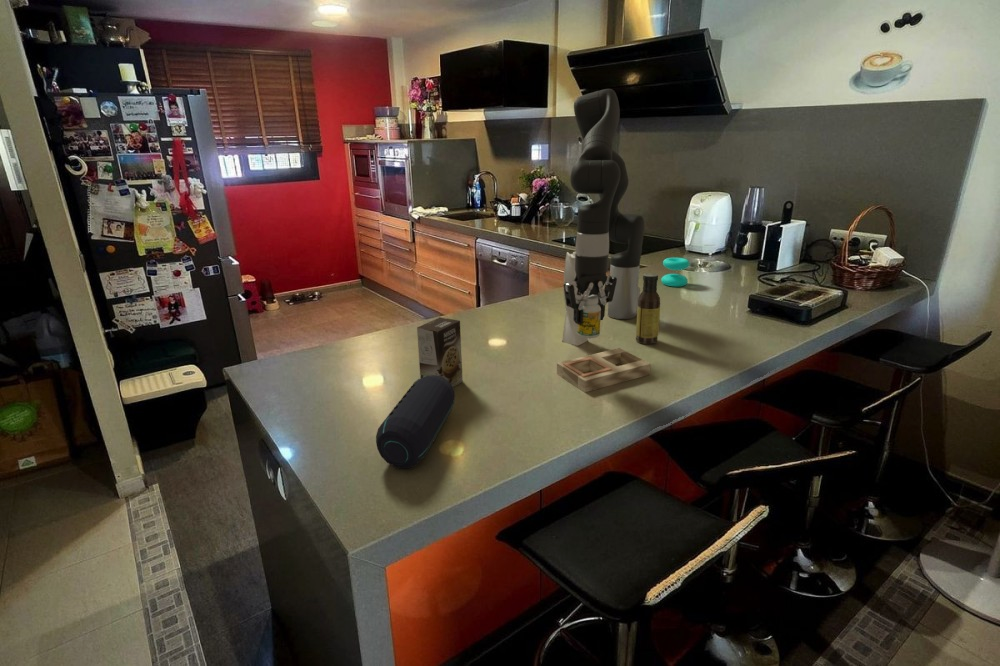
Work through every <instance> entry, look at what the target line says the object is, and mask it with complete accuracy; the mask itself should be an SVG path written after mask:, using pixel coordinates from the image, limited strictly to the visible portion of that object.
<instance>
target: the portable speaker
mask: <svg viewBox="0 0 1000 666" xmlns="http://www.w3.org/2000/svg"><path fill="white" fill-rule="evenodd" d="M455 399H456V392H455V388H454V387H452V385H451V383H450V382H449V381H447V380H446V379H445V378H444V377H440V376H437V375H430V376H425V377H423V378H421V379H420V378H418V379H417V380H415V381H414V382H413V384H411V386H410V387H409V389H407V391H406V392H405V393H404V395H403V396H402V397H401V399H400V400H399V401H398V403H397V404H396V405H395V406H394V407H393V408H392V410H391V411H390V413H388V415H387V417H385V419H384V420H383V421H382V423H381V424H380V426H379V427H378V429H377V431H376V434H375V445H376V447H377V451H378V453H379V455H380V456H381V458H382V459H383V460H384V461H385V462H386V463H387V464H389V465H390V466H392V467H394V468H398V469H401V470H405V469H411V468H413V467H415V466H417V465H418V464H419V463H420V462H421V461H422V460H423V459H424V457H425V456H426V455H427V453H428V451H429V450H430V448H431V446H432V445H433V443H434V441H435V440H436V438H437V436H438V434H439V433H440V432H441V429H442V428H443V425H444V424H445V422H446V420H447V419H448V417H449V416H450V414H451V413H452V410H453V407H454V404H455Z"/></svg>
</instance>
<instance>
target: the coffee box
mask: <svg viewBox="0 0 1000 666" xmlns="http://www.w3.org/2000/svg"><path fill="white" fill-rule="evenodd" d="M416 330H417V332H416V333H417V349H418V350H417V351H418V361H419V362H418V363H419V379H421V378H423V377H425V376H430V375H437V376H440V377H444V378H445V379H446V380H447V381H449V382H450V383H451V385H452V387H453V388H454V387H455V386H458V385H460V384H461V383H463V382H464V381H463V361H462V360H463V359H462V356H463V355H462V338H461V337H462V336H461V321H460V320H458V319H452V318H447V317H446V318H445V317H437V318H436V319H432V320H431V321H428V322H427V323H424V324H422V325H419V326H417V327H416Z"/></svg>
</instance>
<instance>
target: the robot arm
mask: <svg viewBox="0 0 1000 666" xmlns="http://www.w3.org/2000/svg"><path fill="white" fill-rule="evenodd" d="M618 98H619V97H618V96H617V93H616V91H615V90H613V89H612V88H605V89H601V90H596V91H592V92H589V93H585V94H583V95H581V96H578V97H577V98H576V99H574V103H573V112H574V118H575V121H576V123H577V127H578V129H579V133H580V135H581V138H582V144H581V154H580V155H579V157H578V158H577V159H576V161H575V162H574V164H573V166H572V169H571V171H570V180H569V181H570V186H571V188H572V189H573V191H575V192H576V193H577V194H583V195H588V194H589V195H590V194H592V195H599V198H600V199H599V200H598V201H596V202H593V203H589V204H584V205H581V206H580V207H578V211H577V227H576V239H575V251H574V252H575V272H576V277H575V279H574V281H573V282H570V283H567V282H565V283H564V285H562V286H564V289H563V294H564V293H565V299H566V305H567V306H568V307H571V308H573V309H574V317H573V319H574V321H575V323H576V324H578V325H581V324H583V310H582V308H583V306H584V303H585V301H587V299H588V296H591V295H595V296H598V303H597V304H598V305H599V306H600V307H601V318H600V321H603V320H604V317H605V313H606V305H607V316H608V317H610V318H612V319H613V318H614V319H617V320H628V319H629V320H630V319H635V318H636V317H637V308H638V298H639V296H640V294H641V287H640V286H639V279H640V267H641V258H642V252H643V251H642V250H643V243H644V235H645V219H644V217H643V216H642V215H641V214H632V213H621V212H620V210H619V207H618V206H619V204H620V201H621V200H622V199H623V196H624V195H625V194H626V191H627V190H628V187H629V176H628V171H627V167H626V163H625V161H624V159H623V158H622V156H620V154H618V153H617V152H616V151H615V150H613V141H614V138H615V135H616V132H617V131H618V130H617V129H618V126H619V122H620V118H621V111H620V102H619V99H618ZM610 241H611V242H613V243H615V244H624V245H628V247H627V249H626V250H624V251H622V252H618V253H614V254H612V255H611V257H610V263H609V255H610V253H609V252H610ZM609 264H610V268H609ZM608 270H609V275H607V272H608ZM575 287H577V290H576V289H575ZM574 291H576V293H575V292H574ZM581 294H583V296H581Z"/></svg>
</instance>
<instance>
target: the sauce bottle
mask: <svg viewBox="0 0 1000 666" xmlns="http://www.w3.org/2000/svg"><path fill="white" fill-rule="evenodd" d="M658 279H659V274H657V273H652V272H649V273H643V275H642V281H643V283H642V284H643V285H642V291H641V292H640V296H639V298H638V308H637V316H636V328H635V329H636V330H635V334H636V335H635V336H636V337H635V340H636V342H638V343H639V344H643V345H652V344H655V343H657V342H658V337H659V328H660V316H661V314H660V313H661V312H660V311H661V297H660V295H659V293H658V291H657V289H658V287H657V286H658V281H659V280H658Z"/></svg>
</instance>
